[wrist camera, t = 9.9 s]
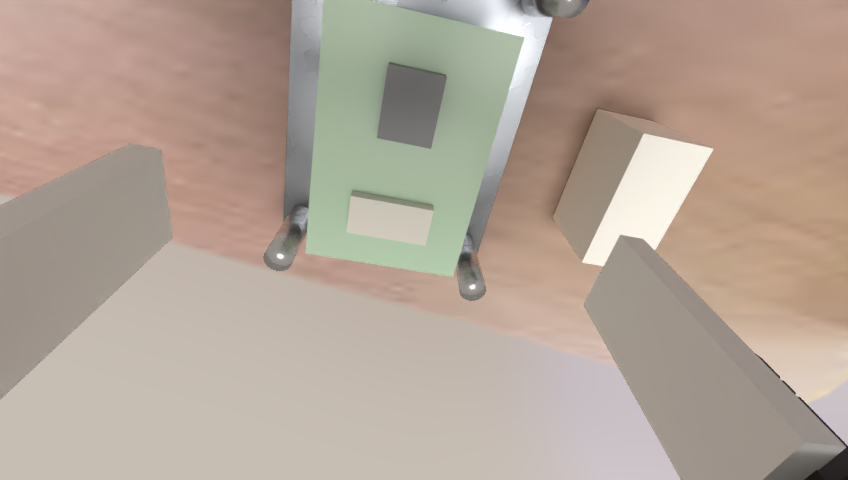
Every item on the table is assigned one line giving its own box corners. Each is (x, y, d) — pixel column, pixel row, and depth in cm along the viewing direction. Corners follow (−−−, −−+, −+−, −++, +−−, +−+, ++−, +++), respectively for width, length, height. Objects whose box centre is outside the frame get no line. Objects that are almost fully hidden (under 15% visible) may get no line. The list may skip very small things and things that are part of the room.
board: (337, -8, 18) (320, -12, 14) (509, 33, 19) (529, 38, 15) (317, 226, 24) (301, 261, 20) (449, 248, 24) (454, 285, 21)
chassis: (301, -87, 20) (256, -127, 15) (558, -20, 22) (610, -31, 16) (287, 220, 29) (256, 273, 23) (472, 252, 31) (486, 308, 25)
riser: (597, 108, 26) (643, 133, 20) (653, 121, 26) (713, 148, 21) (552, 217, 29) (581, 262, 24) (602, 227, 30) (641, 272, 25)
